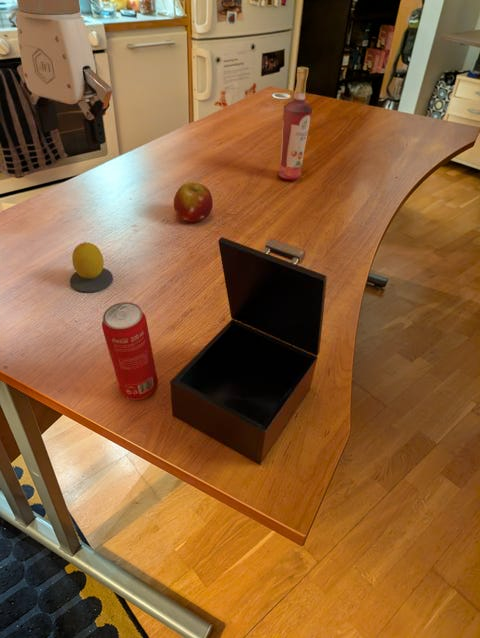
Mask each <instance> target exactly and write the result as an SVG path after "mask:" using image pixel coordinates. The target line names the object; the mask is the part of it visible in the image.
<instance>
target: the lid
mask: <svg viewBox="0 0 480 638" xmlns="http://www.w3.org/2000/svg"><path fill="white" fill-rule="evenodd" d="M217 242H218V247H219V254H220V259H221V260H220V261H221V266H222V272H223V278H224V284H225V289H226V296H227V301H228V307H229V312H230V313H229V314H230V319H231V320H232V319H234V320H236V321H238V322H241V323H243V324H245V325H247V326H250V327H252V328H254V329H256V330H259V331H261V332H263V333H265V334H268V335H270V336H272V337H274V338H277V339H279V340H281V341H283V342H286V343H288V344H290V345H292V346H295V347H297V348H299V349H301V350H304V351H306V352H308V353H310V354H312V355H315V356H317V357H318V356H319V354H320V351H321V341H322V331H323V321H324V312H325V302H326V301H325V300H326V290H327V282H328V281H327V280H328V276H327V275H326V274H322V273H320V272H317V271H314V270H311V269H310V268H306V267H303V266H301V265H300V264H302V263H303V262H304V260H305V258H306V254H307V251H306V250H305V249H304V248H300V247H298V246H294V245H292V244H289V243H286V242H283V241H280V240H278V239H274V238H272V237H270V238H268V239H267V241H266V243H265V246H264V249H263V250H262V251H261V250H258V249H255V248H253V247H249V246H247V245H244V244H242V243H239V242H236V241H234V240H231V239H228V238H226V237H222V236H220V238H219V239H218V241H217ZM274 255H275V256H274ZM276 256H278V257H276ZM279 257H280V258H279ZM285 259H286V260H285ZM287 260H288V261H287ZM298 264H299V265H298Z"/></svg>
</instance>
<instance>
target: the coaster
mask: <svg viewBox="0 0 480 638" xmlns="http://www.w3.org/2000/svg"><path fill="white" fill-rule="evenodd" d="M113 281H114V277H113V273H112V272H111V271H110V270H109V269H107V268H105V267H103V270H102V272H101V273H100V274H99V275H98V276H97V277H95V278H93V279H87V278H83V277H81V276H80V275H79V274H78V273H77V272H76V271H75V272H74V273H73V274H71V276H70V278H69V284H70V287H71V288H72V290H74V291H76V292H78V293H81V294H83V293H84V294H94V293H99V292H101V291H104V290H106V289H107V288H109V287H110V286H111V285H112V283H113Z"/></svg>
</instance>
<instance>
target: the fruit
mask: <svg viewBox="0 0 480 638" xmlns="http://www.w3.org/2000/svg"><path fill="white" fill-rule="evenodd" d="M213 202H214V201H213V196H212V193H211V191H210V189H209V188H208V187H207V186H205V185H204V184H202V183H199V182H191V181H190V182H186V183H183V184H182V185H180V187H179V188H178V189H177V191H176V193H175V195H174V197H173V209H174V211H175V213H176V215H177V216H178V218H180V219H181V220H183V221H185V222H191V223H198V222H202V221H205V220H206V219H207V218H208V217H209V216H210V215H211V213H212V210H213V205H214V203H213Z"/></svg>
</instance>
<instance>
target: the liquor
mask: <svg viewBox="0 0 480 638" xmlns="http://www.w3.org/2000/svg"><path fill="white" fill-rule="evenodd" d="M308 76H309V67H308V66H307V67H306V66H298V67H297V70H296V85H295V90H294V94H293V100H291V101H288V102H287V103H285V105H284V106H283V113H282V114H283V115H282V126H281V127H282V129H281V147H280V158H279V159H280V160H279V169H278V170H277V175H278V176H279V177H280V178H281V179H282V180H283V181H286V182H295V181H298V179H300V178H302V176H303V173H302V167H303V160H304V155H305V150H306V149H305V148H306V145H307V140H308V139H307V138H308V135H309V129H310V124H311V123H310V122H311V119H312V118H311V117H312V113H313V107H312V106H311V105H310V104H309V103H308V102H306V89H307V79H308Z"/></svg>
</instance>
